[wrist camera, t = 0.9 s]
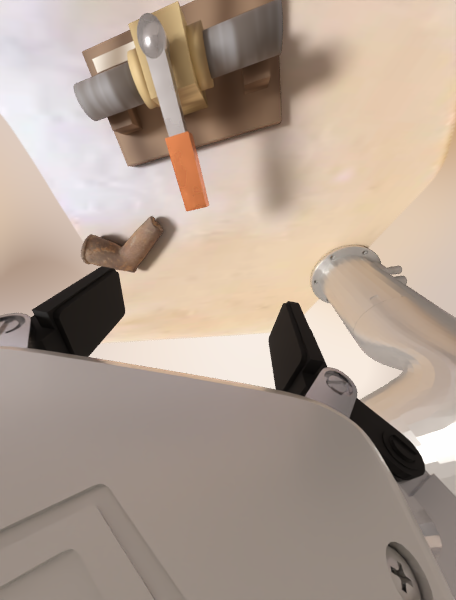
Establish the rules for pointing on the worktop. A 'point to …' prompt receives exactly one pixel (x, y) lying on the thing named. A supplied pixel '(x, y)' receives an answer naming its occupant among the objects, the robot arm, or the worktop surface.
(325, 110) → the worktop surface
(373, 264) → the robot arm
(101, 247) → the pipe
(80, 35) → the worktop surface
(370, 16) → the worktop surface
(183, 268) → the worktop surface
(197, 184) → the valve lever
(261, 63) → the valve stand
